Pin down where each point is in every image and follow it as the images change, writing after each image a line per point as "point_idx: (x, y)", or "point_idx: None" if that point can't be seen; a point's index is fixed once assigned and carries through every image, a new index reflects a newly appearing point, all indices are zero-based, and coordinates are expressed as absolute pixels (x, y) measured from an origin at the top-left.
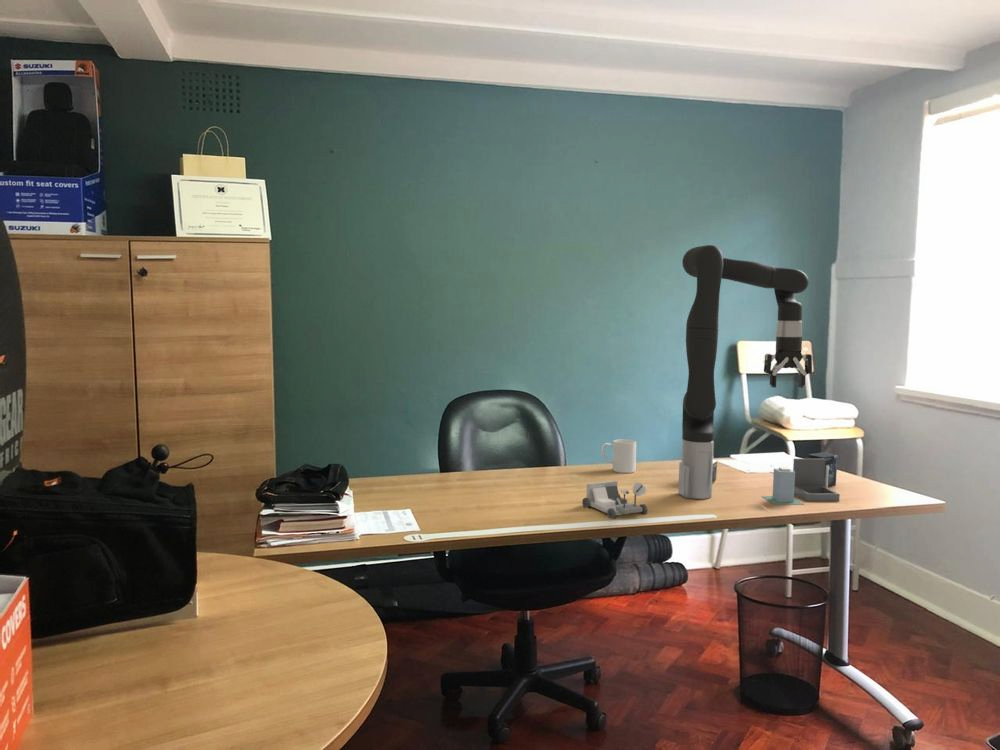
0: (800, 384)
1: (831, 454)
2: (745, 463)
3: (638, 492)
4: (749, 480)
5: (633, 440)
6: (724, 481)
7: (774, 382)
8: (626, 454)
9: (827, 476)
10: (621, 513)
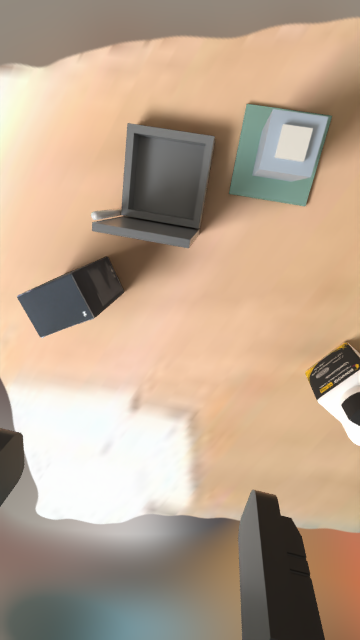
0: (3, 460)
1: (30, 305)
2: (146, 474)
3: None
4: (223, 360)
5: None
6: (287, 364)
7: (280, 540)
8: None
9: (106, 210)
10: None
